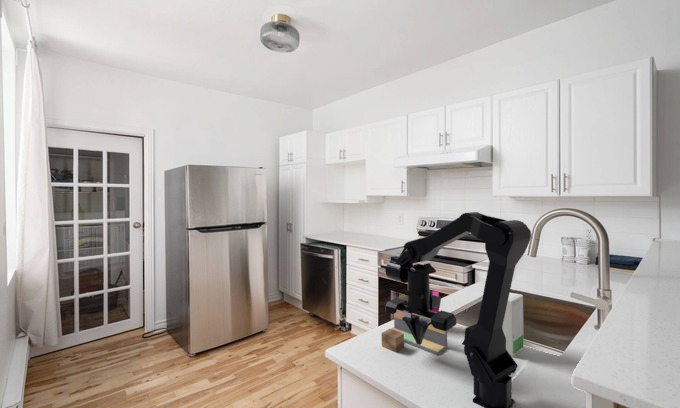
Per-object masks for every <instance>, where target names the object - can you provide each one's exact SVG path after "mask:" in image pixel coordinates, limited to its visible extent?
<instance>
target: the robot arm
mask: <svg viewBox="0 0 680 408" xmlns="http://www.w3.org/2000/svg"><path fill="white" fill-rule="evenodd" d="M469 234H471V235H473V237H474V238H476V239H477V240H481V242H482V241H483V242H484V249H485V251H486V252H485V253H486V255H487V258H488V268H487V271H486V272H487V273H486V278H485V283H484V288H483V293H482V297H481V304H480V309H479V314H478V319H477V323H475V324H473V325H470V326H467V327H465V329H464V338H463V339H464V340H463V341H462V343H461V345H463V353H464V355H465V356H466V359H467V363H468V366H469V370H470V374H471V376H473V395H474V397H473V398H472V402H473V404H476V405H478V406H480V407H482V408H512V407H513V405H514V404H515V402H516V401H515V399H514V398H512V397H513V395H512V394H513V393H512V392H513V390H512V389H513V388H512V387H513V385H512V384H513V382H512V381H513V379H512V378H513V377H512V376H511V375H512V374H515V373H516V371H517V368H518V363H517V362H516V360H514V357H511V355H510V354H509V353H508V351H507V350H506V338H505V335H504V332H503V329H502V326H503V321H504V317H505V312H506V307H507V302H508V298H509V293H511V287H512V283H513V278H514V273H515V268H516V266H517V264H518V263H519V261H520V260H521V259H522V257H523V256H524V254H525V253H526V250H527V248H528V246H529V244H530V241H531V238H532V231H531V229H530V228H529V227H528V226H527V224H526V223H524V221H521V220H518V219H512V220H508V219H507V220H506V219H503V218H498V217H495V216H490V215H486V214H483V213H480V212H478V211H472V212H470V211H469V212H464V213H461V215H459V216H458V217H457V218H455V219H454V220H452V221H451V222H449V223H447V224H446V225H444V226H442V227H440V228H438V229H437V230H435V231H433V232H432V233H430V234H429V235H427V236H425V237H421V238H417V239H412V240H410V241H407V242H405V243H404V244H403V249H402V251H401V253H400V254H399V256H397V255H393V256H390V261H388V262H387V264H386V266H385V270H384V272H385V275H386V277H387V278H388V279H391V280H393V281H396V282H399V283H403V284H407V290H405V291H404V295H405V296H407V300H406V299H403V298H398V297H395V298H393V299H391V300H388V301H387V302H386V304H385V313H388V314H391V315H394V314H395V313H396V312H397V310H400V311H403V312H404V317H403V318H402V320H403V321H405V323H406V324H407V326H408V328H409V329H410V331H411V333H412V335H413V337H414V339H415V341H416V343H417V344H418V345H420V344H421V343H422V341H423V338H424V335H425V333H426V330H427V328H428V326H429V325H431V324H432V326H433V327H434V328H436V329H439V330H442V331H447V332H448V331H449V330H450V329H452V328H454V327H455V326H457V317H456V315H455V314H454V313H452V312H450V311H449V312H448V311H446V310H439V312H438V313H436V314H435V313H434V312H430V310H433V309H434V307H437V308H439V309H440V307H441V301H442V297H441V296H440V295H439V296H435V295H433V292H432V291H433V290H432V289H430V275H431V274H435V273H437V269H435V267H433V266H432V265H431V263H430V262H429V263H424V264H421V263H422V262H428V261H431V260H432V259H433V258H435V257H436V256H437V255H438V253H439V251H440V250H441V249H443V248H445V247H446V246H449V244H452V243H453V242H456V241H457V240H460V239H461V238H464V237H465V236H467V235H469Z"/></svg>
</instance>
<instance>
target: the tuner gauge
mask: <svg viewBox="0 0 680 408" xmlns="http://www.w3.org/2000/svg"><path fill="white" fill-rule="evenodd" d="M403 317H404V312H403V311H400V310H397V312H396V313H395V314H393V319H394V321H393V322H394V324H393V326H394V327H391V328H390V329H393V330H395V331H398V332H401V333H403V334H404V344H407V345H410V346H413V347H414V348H417V349H420V350H422V351H425V352H426V353H430V354H431V355H434V356H439V354H441V353H442V352H444V351H445V350H446V349H447V348H448V330H447V331H442V330H439V329H436V328H434V327H433V326H432V324H431V325H429V326H428V328H427V330H426V333H425V335H424V338H423V341H422V343H421V344H420V345H418V344H417V343H416V341H415V339H414V337H413V335H412V333H411V331H410V329H409V328H408V326H407V324H406V323H405V321H403V320H402V318H403Z"/></svg>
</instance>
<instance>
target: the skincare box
mask: <svg viewBox="0 0 680 408" xmlns="http://www.w3.org/2000/svg"><path fill="white" fill-rule="evenodd" d="M502 329H503V332H504V335H505V338H506V350H507V351H508V353H509V354H510V355H511V357H512V358H514V357H515V356H516V355H517V354H518V353H520V352H521V351H522V350H523V349H524V348H525V347H524V345H525V344H524V295H523V294H520V293H515V292H514V293H513V292H510V293H509V298H508V302H507V307H506V312H505V317H504V321H503V326H502Z"/></svg>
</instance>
